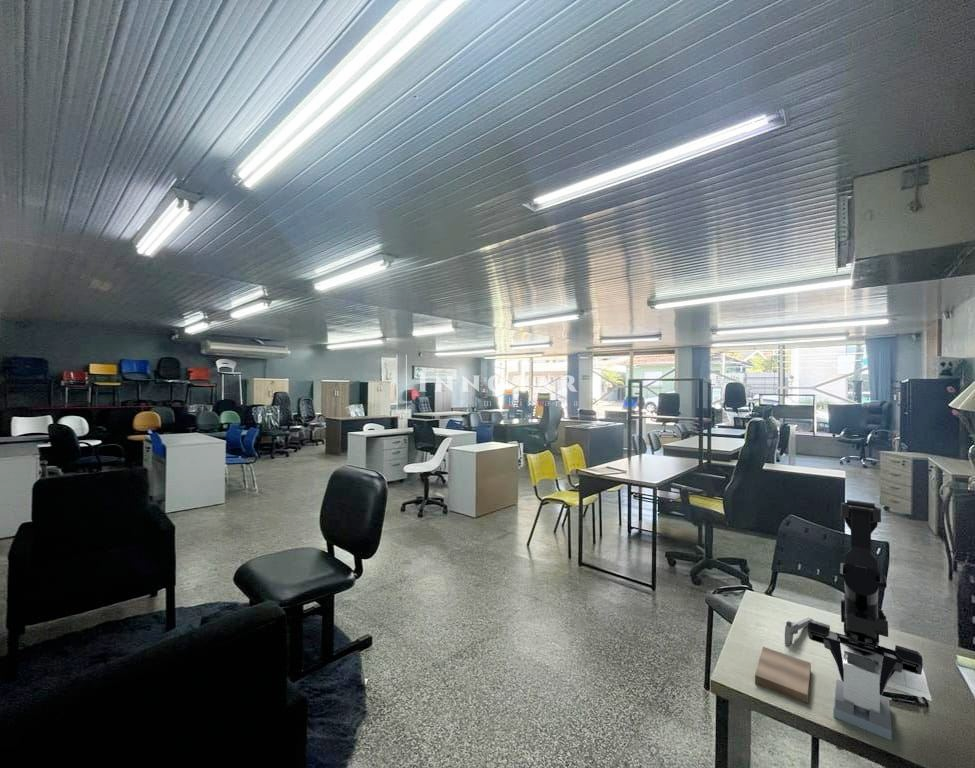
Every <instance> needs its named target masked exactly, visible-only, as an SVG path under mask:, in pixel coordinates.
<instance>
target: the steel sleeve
mask: <svg viewBox="0 0 975 768" xmlns="http://www.w3.org/2000/svg"><path fill="white" fill-rule="evenodd" d="M843 668H844V701H847V702H849V703H852V704H854V705H857V706H860V707H862V708H865V709H867V710H870V711H873V712H875V713H878V714H880V661H878V660H875V659H872V658H868V657H867V656H864V655H863V656H862V655H860V654H856V653H853V652H850V651H846V650H844V653H843Z"/></svg>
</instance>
